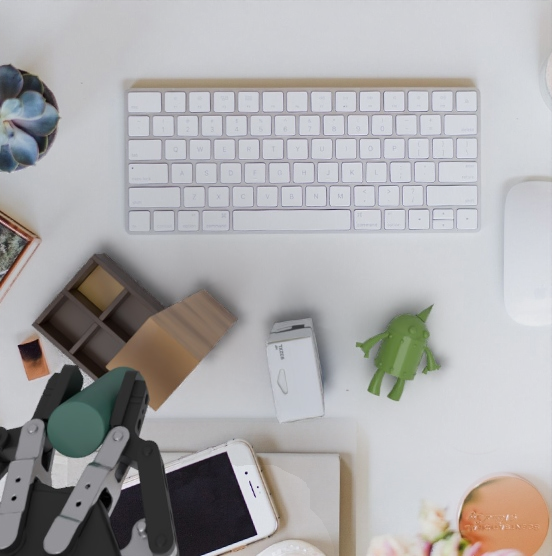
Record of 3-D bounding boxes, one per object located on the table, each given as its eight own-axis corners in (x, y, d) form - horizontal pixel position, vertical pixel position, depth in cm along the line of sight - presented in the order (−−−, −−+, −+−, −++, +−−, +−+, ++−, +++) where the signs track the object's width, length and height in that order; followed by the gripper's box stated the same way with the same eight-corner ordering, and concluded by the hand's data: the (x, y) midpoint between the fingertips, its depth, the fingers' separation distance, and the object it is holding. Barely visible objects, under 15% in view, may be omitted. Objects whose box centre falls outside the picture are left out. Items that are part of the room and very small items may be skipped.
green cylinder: (126, 421, 39) (78, 470, 31) (91, 390, 39) (34, 432, 31) (156, 387, 39) (116, 427, 31) (122, 356, 39) (72, 389, 31)
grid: (112, 381, 69) (102, 388, 65) (43, 320, 68) (30, 325, 65) (172, 313, 68) (165, 318, 65) (104, 252, 68) (93, 253, 65)
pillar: (207, 353, 68) (155, 412, 46) (173, 322, 68) (104, 367, 46) (237, 319, 68) (200, 362, 46) (203, 288, 68) (149, 316, 46)
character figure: (351, 395, 61) (389, 290, 61) (332, 377, 66) (367, 280, 65) (436, 414, 66) (472, 317, 65) (412, 396, 70) (445, 305, 70)
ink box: (325, 386, 68) (326, 418, 56) (284, 392, 68) (277, 426, 57) (313, 316, 68) (312, 334, 56) (272, 322, 68) (263, 342, 56)
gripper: (127, 754, 21) (214, 350, 32) (-257, 719, 21) (-31, 328, 33) (156, 760, 26) (221, 412, 38) (-148, 732, 26) (12, 393, 38)
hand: (104, 375), depth 35 cm, fingers closed on green cylinder, 3 cm apart
